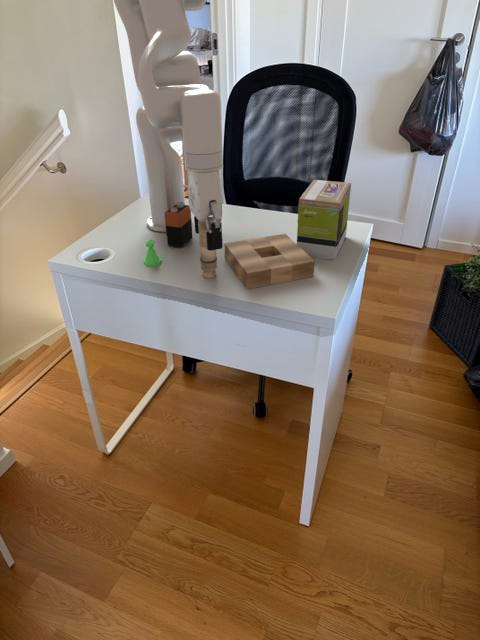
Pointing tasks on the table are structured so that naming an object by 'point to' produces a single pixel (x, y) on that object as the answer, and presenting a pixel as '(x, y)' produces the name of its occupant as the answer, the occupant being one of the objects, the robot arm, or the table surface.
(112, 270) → the table surface
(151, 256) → the game piece
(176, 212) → the battery
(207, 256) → the peg
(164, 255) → the table surface
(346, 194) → the tea box
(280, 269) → the board
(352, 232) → the table surface
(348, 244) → the table surface
